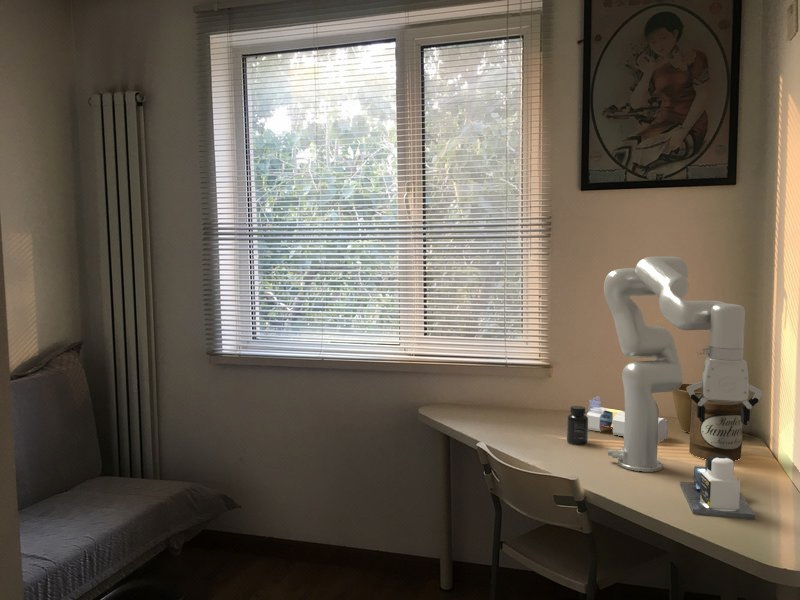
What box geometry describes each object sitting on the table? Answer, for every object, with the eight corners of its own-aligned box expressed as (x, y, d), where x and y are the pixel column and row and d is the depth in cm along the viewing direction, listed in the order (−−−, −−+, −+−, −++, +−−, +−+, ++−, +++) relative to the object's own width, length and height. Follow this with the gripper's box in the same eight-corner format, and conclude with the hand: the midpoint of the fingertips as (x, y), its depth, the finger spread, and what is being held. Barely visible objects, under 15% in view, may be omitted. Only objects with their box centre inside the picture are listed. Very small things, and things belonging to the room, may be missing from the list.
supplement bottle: (591, 442, 224) (592, 407, 224) (580, 446, 220) (581, 410, 219) (573, 438, 229) (574, 403, 228) (562, 442, 224) (563, 407, 224)
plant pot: (680, 423, 248) (682, 381, 247) (722, 431, 238) (724, 387, 237) (663, 431, 238) (664, 387, 237) (706, 440, 227) (708, 393, 226)
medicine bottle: (699, 497, 172) (701, 452, 171) (728, 499, 171) (730, 453, 170) (709, 508, 165) (710, 460, 164) (739, 509, 164) (741, 462, 163)
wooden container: (707, 463, 203) (710, 392, 201) (679, 449, 217) (682, 382, 216) (751, 461, 205) (755, 390, 203) (721, 447, 220) (724, 381, 218)
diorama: (586, 431, 239) (586, 395, 238) (599, 425, 247) (600, 390, 246) (654, 445, 222) (656, 406, 221) (667, 439, 230) (668, 401, 228)
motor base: (692, 513, 165) (694, 477, 164) (679, 485, 184) (681, 452, 183) (755, 519, 161) (757, 482, 161) (735, 490, 181) (737, 457, 180)
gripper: (690, 355, 163) (687, 423, 165) (768, 358, 159) (765, 428, 160) (685, 350, 170) (682, 416, 172) (760, 353, 166) (756, 420, 168)
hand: (722, 422), depth 166 cm, fingers open, 9 cm apart
